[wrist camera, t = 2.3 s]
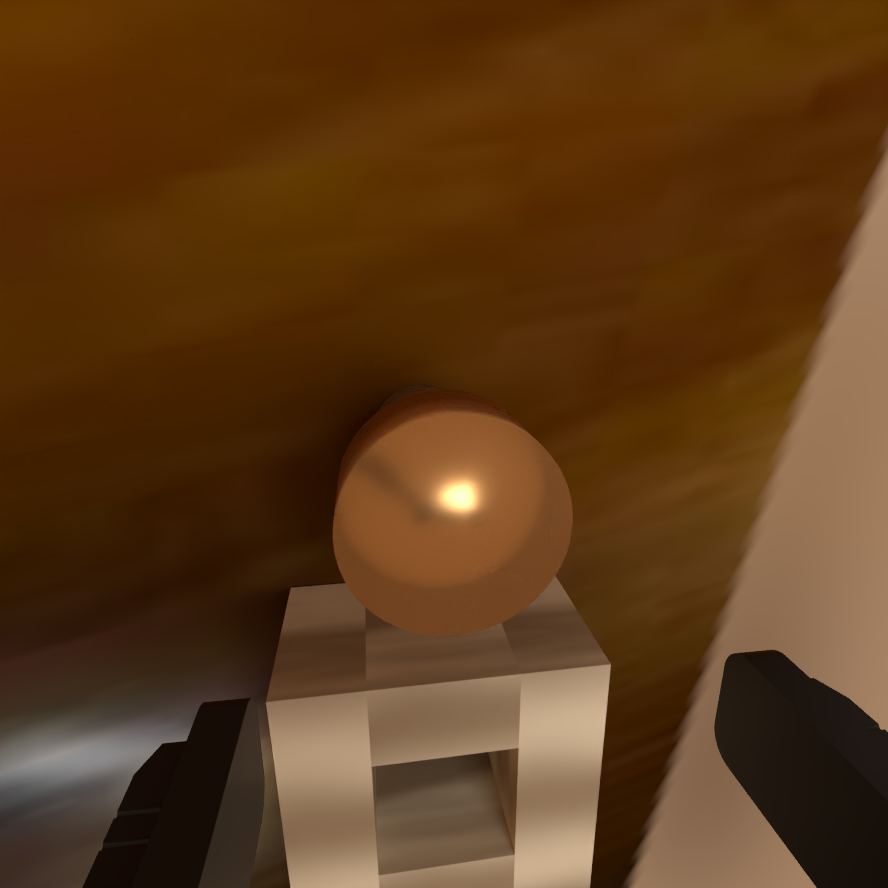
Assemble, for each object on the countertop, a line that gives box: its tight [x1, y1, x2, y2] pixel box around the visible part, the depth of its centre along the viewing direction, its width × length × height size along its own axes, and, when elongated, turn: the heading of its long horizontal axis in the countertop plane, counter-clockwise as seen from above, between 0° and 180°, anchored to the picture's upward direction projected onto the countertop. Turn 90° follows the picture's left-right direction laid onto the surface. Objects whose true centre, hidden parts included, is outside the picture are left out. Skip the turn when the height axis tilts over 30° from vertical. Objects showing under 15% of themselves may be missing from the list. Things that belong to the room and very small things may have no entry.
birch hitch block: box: [266, 576, 611, 888], centre depth 25 cm, size 12×12×7 cm
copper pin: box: [333, 385, 573, 636], centre depth 19 cm, size 6×6×10 cm
